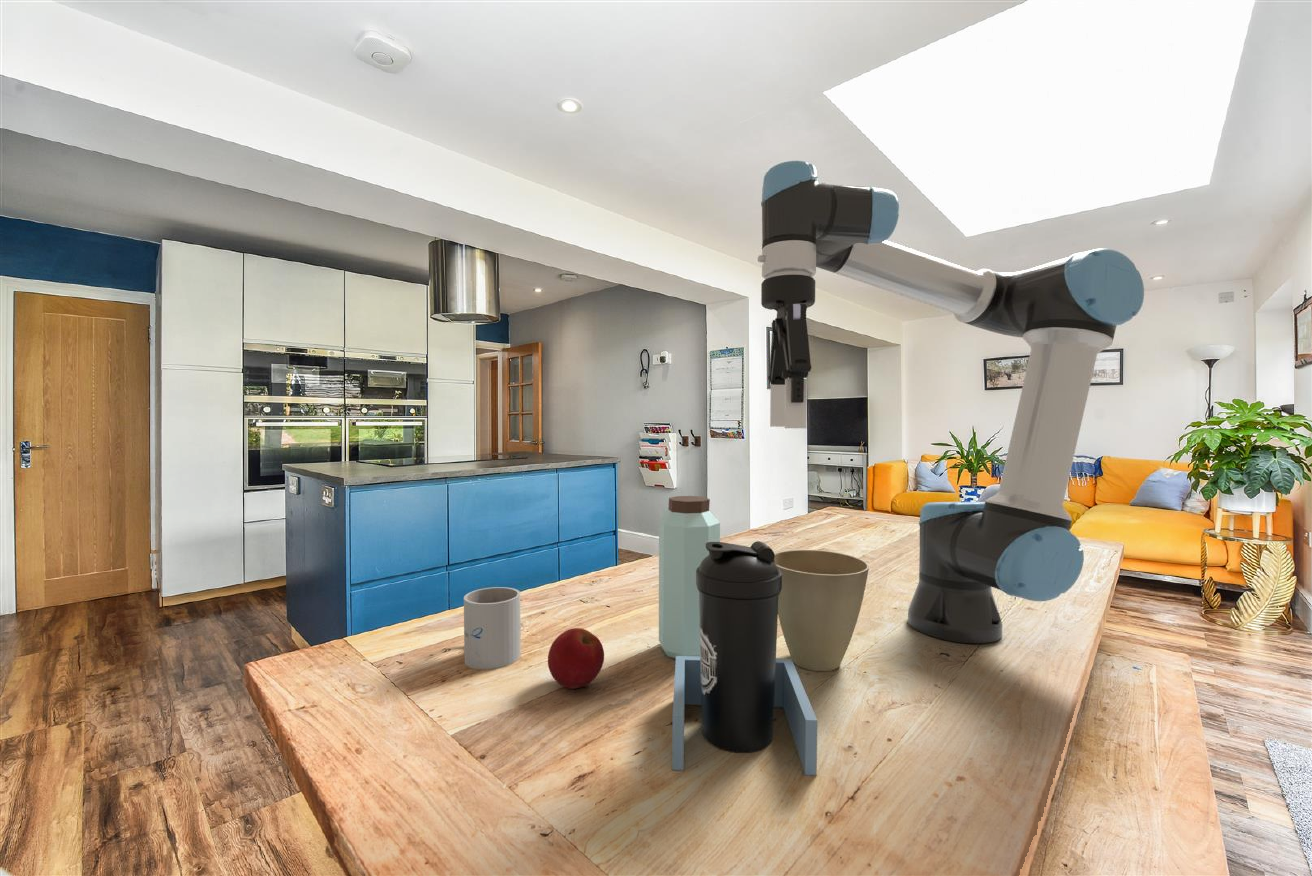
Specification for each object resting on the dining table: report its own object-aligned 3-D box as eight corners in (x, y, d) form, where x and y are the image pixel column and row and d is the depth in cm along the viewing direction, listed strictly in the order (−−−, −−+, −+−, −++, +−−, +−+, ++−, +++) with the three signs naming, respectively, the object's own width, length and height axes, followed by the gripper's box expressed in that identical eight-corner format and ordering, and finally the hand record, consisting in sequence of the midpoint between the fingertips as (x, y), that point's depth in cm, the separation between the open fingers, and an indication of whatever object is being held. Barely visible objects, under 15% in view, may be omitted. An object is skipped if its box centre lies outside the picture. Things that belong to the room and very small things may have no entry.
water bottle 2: (689, 712, 74) (690, 536, 73) (766, 709, 74) (768, 534, 74) (702, 759, 63) (703, 555, 63) (791, 755, 64) (794, 553, 63)
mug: (526, 662, 88) (526, 599, 88) (469, 674, 85) (468, 607, 84) (508, 635, 99) (508, 578, 99) (457, 644, 95) (456, 585, 95)
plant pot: (760, 674, 84) (761, 568, 84) (775, 638, 98) (776, 546, 98) (867, 691, 79) (869, 578, 79) (867, 650, 93) (868, 554, 93)
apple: (559, 704, 76) (558, 644, 75) (541, 679, 83) (541, 625, 83) (611, 691, 79) (611, 634, 79) (590, 668, 86) (590, 616, 86)
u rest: (790, 703, 76) (791, 658, 76) (816, 775, 61) (817, 720, 60) (675, 699, 77) (675, 655, 77) (672, 770, 62) (672, 715, 61)
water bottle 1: (716, 666, 87) (717, 504, 86) (652, 660, 89) (652, 502, 88) (721, 641, 97) (722, 495, 96) (664, 636, 99) (664, 493, 98)
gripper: (752, 297, 94) (751, 425, 95) (774, 254, 69) (773, 429, 70) (798, 296, 93) (796, 426, 94) (837, 253, 68) (835, 429, 69)
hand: (786, 427), depth 82 cm, fingers open, 13 cm apart
